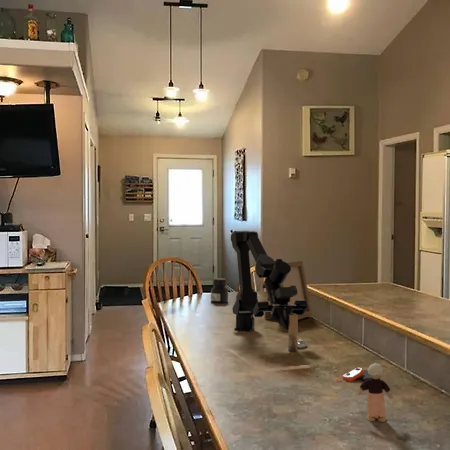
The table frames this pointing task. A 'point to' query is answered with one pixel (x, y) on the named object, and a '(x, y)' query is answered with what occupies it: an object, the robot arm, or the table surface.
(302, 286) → the photo frame
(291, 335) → the brown cylinder with ball
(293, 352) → the stand plate
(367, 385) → the grandmother figurine
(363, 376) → the multimeter
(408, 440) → the table surface
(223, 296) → the ink bottle
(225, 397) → the table surface
